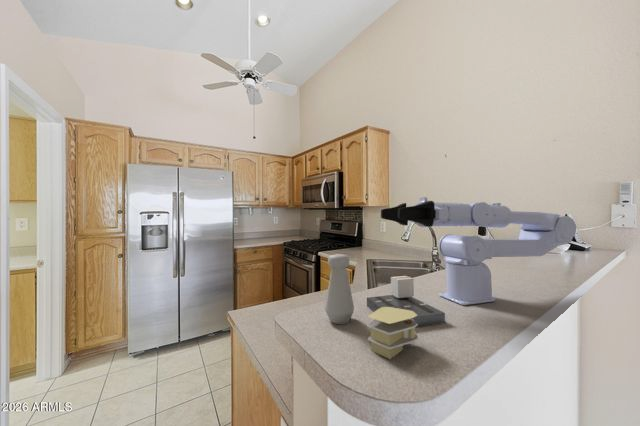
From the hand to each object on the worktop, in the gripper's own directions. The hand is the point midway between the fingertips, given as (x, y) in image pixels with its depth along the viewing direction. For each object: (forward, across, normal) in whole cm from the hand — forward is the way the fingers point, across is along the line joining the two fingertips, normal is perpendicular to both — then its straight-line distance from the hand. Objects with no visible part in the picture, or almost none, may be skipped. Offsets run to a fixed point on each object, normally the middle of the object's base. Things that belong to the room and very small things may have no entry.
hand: (389, 213), depth 57 cm
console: (0, +5, +21) cm, 22 cm away
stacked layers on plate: (+8, +16, +22) cm, 28 cm away
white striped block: (-3, 0, +19) cm, 19 cm away
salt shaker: (+13, +4, +22) cm, 26 cm away
